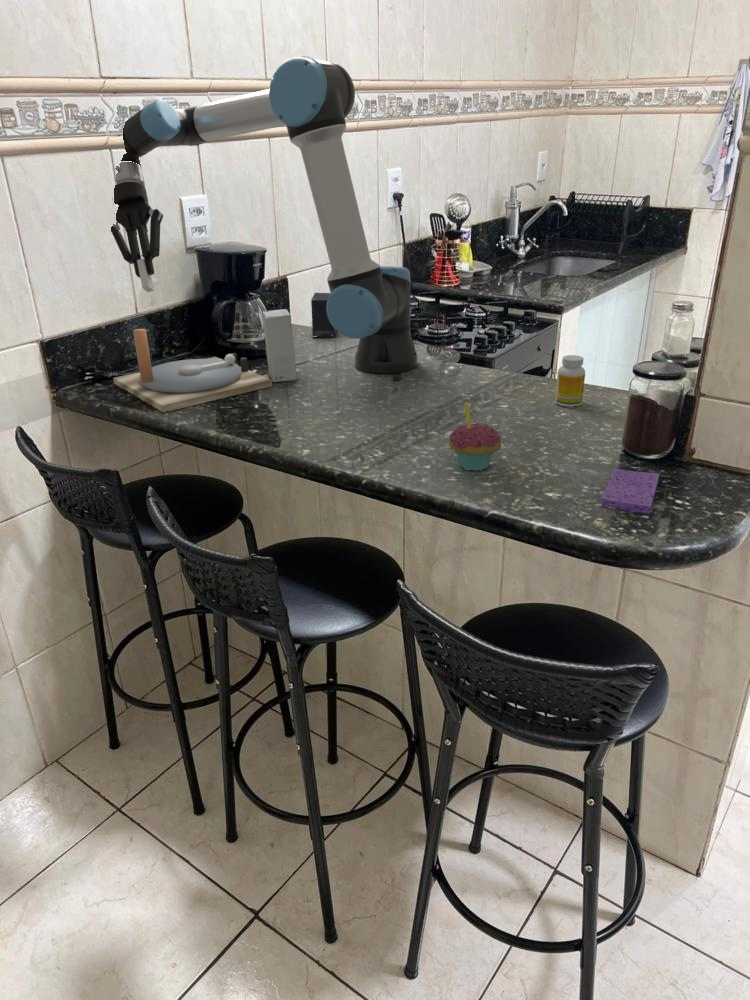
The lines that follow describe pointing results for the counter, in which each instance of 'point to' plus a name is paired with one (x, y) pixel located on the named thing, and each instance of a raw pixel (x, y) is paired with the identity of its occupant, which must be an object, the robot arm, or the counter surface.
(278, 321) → the skincare box
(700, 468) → the counter surface
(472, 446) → the cupcake
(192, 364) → the cam disc
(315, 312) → the small box
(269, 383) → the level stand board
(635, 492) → the sponges
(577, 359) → the supplement bottle
